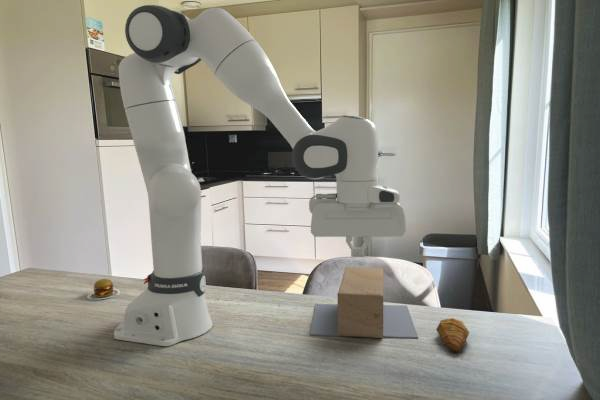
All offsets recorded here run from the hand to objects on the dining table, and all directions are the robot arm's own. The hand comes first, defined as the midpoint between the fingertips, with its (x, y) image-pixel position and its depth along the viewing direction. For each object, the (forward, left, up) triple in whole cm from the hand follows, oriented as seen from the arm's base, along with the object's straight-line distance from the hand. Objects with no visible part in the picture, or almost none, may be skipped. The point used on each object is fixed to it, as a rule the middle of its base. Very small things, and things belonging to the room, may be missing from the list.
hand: (357, 256), depth 91 cm
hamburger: (-75, +23, -20) cm, 81 cm away
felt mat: (+1, +9, -19) cm, 21 cm away
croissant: (+20, 0, -19) cm, 28 cm away
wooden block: (0, -1, -13) cm, 13 cm away
